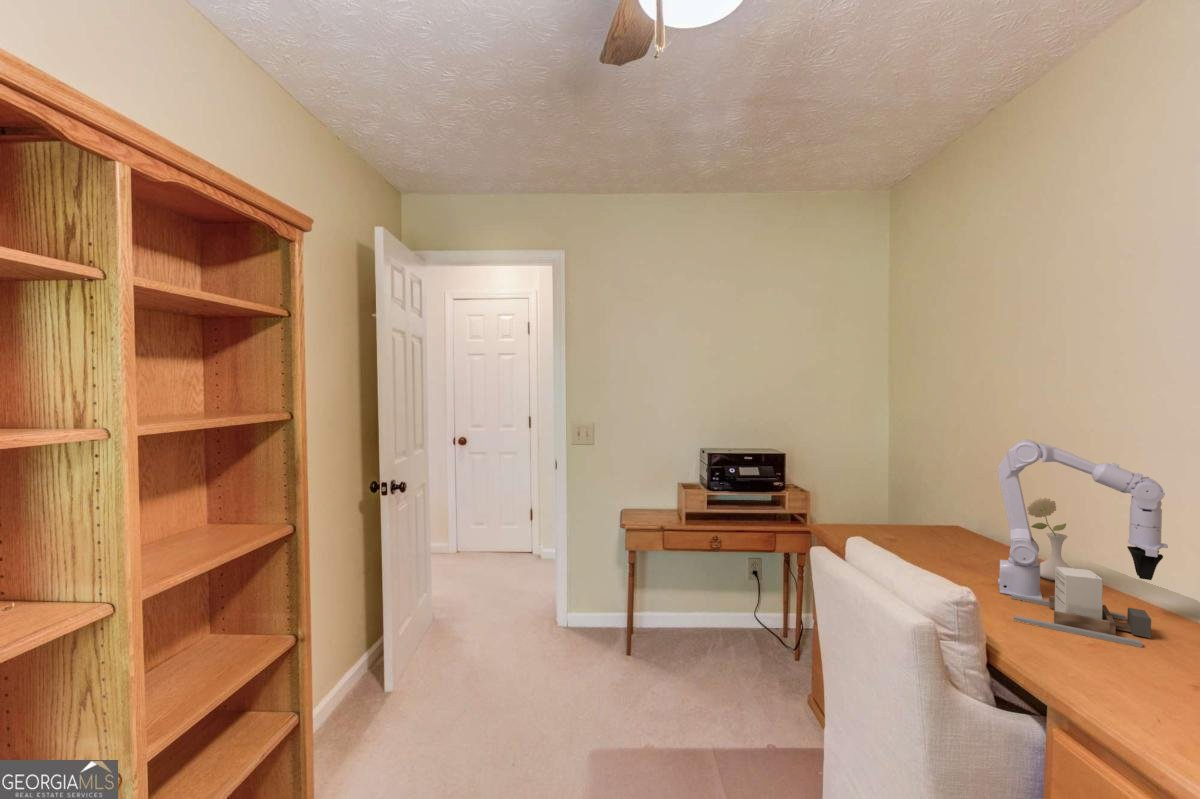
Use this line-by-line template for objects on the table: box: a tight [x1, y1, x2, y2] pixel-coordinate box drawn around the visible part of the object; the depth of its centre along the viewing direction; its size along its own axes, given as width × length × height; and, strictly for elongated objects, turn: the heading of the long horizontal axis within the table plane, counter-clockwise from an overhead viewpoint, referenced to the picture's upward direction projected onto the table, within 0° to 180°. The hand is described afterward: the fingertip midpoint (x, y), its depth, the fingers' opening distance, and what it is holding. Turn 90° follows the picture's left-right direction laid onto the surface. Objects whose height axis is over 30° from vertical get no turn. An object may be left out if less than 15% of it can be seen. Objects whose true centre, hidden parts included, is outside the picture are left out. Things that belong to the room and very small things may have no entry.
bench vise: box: [1048, 595, 1152, 639], centre depth 131 cm, size 18×13×4 cm
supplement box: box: [1054, 566, 1104, 619], centre depth 133 cm, size 7×7×13 cm
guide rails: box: [1010, 594, 1143, 648], centre depth 134 cm, size 23×19×1 cm
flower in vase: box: [1026, 497, 1073, 582], centre depth 163 cm, size 13×11×25 cm
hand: (1144, 577), depth 135 cm, fingers open, 2 cm apart
